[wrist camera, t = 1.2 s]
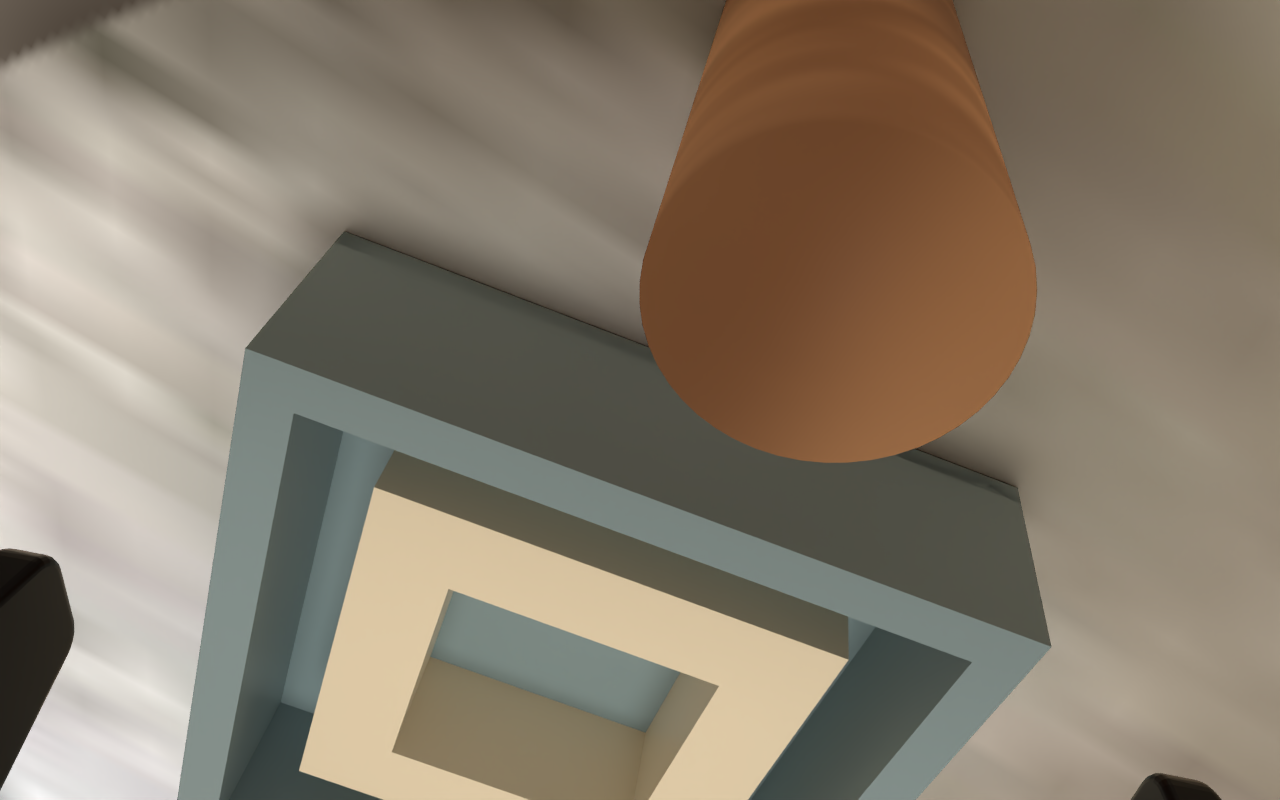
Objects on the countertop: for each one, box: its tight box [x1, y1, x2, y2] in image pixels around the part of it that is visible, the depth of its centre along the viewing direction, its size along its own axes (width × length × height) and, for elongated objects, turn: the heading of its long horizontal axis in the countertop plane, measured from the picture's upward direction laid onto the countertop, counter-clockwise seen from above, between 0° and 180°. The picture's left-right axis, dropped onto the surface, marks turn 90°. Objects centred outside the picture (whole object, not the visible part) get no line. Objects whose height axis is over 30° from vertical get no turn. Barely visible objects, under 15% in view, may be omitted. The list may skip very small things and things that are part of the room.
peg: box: [640, 0, 1037, 463], centre depth 15 cm, size 4×4×9 cm
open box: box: [177, 232, 1051, 800], centre depth 25 cm, size 15×16×4 cm
